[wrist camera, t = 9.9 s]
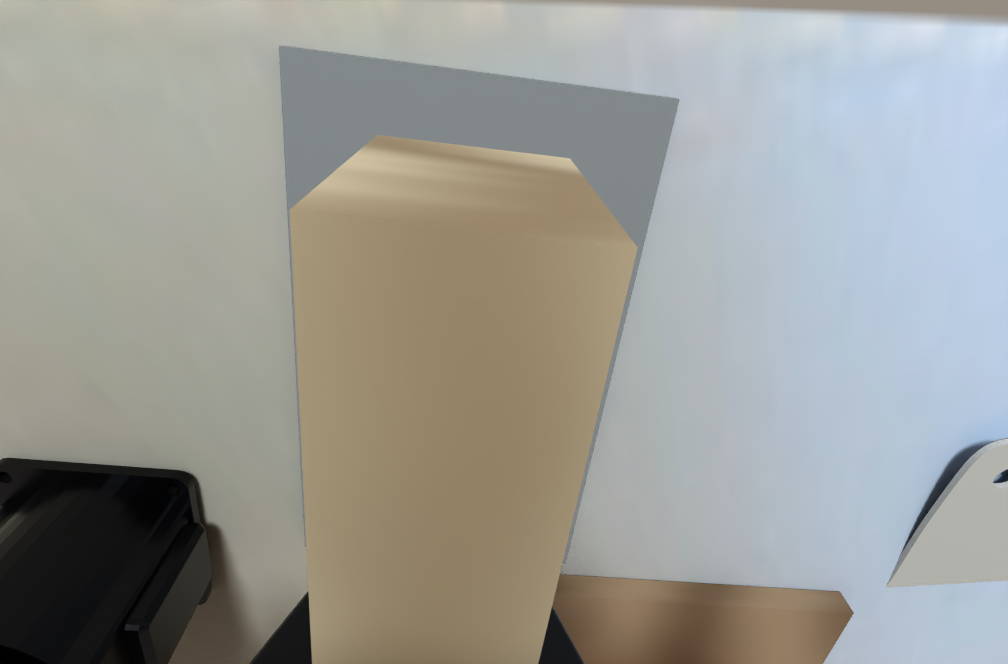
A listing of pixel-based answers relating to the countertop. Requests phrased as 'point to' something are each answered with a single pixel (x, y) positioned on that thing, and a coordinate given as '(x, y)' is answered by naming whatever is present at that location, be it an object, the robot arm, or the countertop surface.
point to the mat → (474, 135)
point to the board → (697, 622)
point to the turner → (447, 394)
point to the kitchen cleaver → (962, 528)
